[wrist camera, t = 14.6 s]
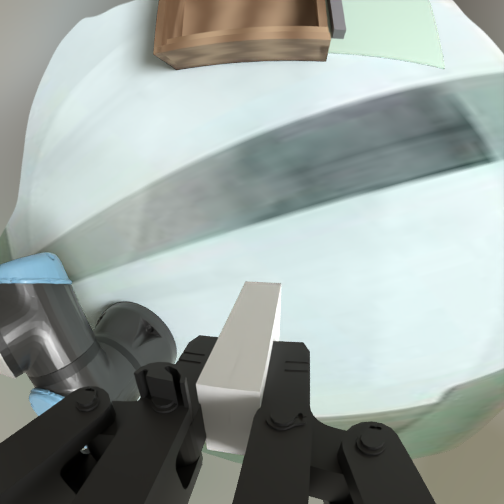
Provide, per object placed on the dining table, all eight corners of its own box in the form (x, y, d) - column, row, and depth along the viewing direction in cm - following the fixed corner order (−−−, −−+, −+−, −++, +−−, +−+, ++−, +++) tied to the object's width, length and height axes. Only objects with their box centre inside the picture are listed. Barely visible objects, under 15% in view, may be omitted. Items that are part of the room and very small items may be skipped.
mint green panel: (327, 54, 31) (329, 43, 28) (318, -14, 28) (319, -28, 24) (442, 69, 29) (454, 62, 25) (427, 2, 25) (436, -9, 22)
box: (176, 69, 34) (153, 54, 27) (182, -10, 30) (164, -33, 23) (326, 61, 31) (330, 40, 24) (317, -22, 27) (319, -49, 20)
